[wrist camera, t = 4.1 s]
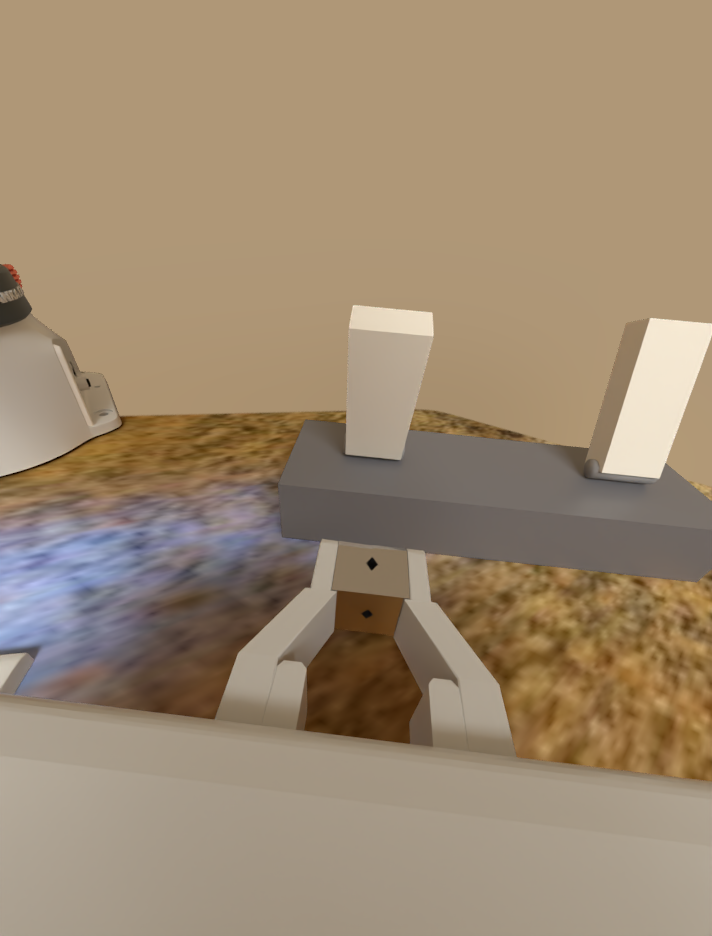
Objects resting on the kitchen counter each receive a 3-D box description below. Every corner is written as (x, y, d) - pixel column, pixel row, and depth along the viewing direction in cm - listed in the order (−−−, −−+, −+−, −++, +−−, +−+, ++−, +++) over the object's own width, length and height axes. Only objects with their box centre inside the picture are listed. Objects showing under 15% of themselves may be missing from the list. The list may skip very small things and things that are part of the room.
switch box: (696, 582, 24) (753, 531, 21) (282, 537, 24) (277, 481, 21) (623, 499, 31) (657, 453, 28) (306, 466, 31) (305, 417, 28)
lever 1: (401, 465, 24) (438, 336, 15) (342, 459, 24) (344, 327, 16) (402, 444, 25) (436, 312, 17) (345, 438, 26) (349, 304, 17)
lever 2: (659, 488, 23) (719, 324, 20) (595, 481, 23) (646, 317, 20) (637, 479, 25) (689, 329, 22) (578, 473, 25) (623, 322, 22)
